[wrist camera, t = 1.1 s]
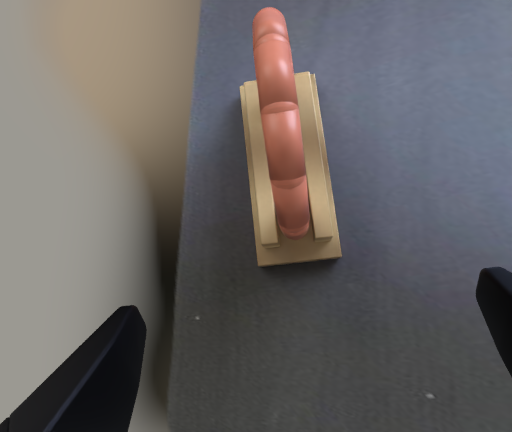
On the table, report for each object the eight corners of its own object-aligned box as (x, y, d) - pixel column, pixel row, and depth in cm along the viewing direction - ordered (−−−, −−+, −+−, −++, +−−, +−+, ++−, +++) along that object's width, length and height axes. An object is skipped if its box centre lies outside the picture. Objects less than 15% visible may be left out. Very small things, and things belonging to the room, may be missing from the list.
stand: (340, 258, 23) (345, 253, 20) (259, 267, 23) (253, 264, 20) (314, 81, 25) (315, 54, 22) (241, 93, 26) (233, 68, 23)
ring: (309, 246, 22) (313, 212, 12) (286, 249, 22) (270, 217, 12) (288, 88, 24) (277, -56, 14) (267, 92, 24) (241, -49, 14)
